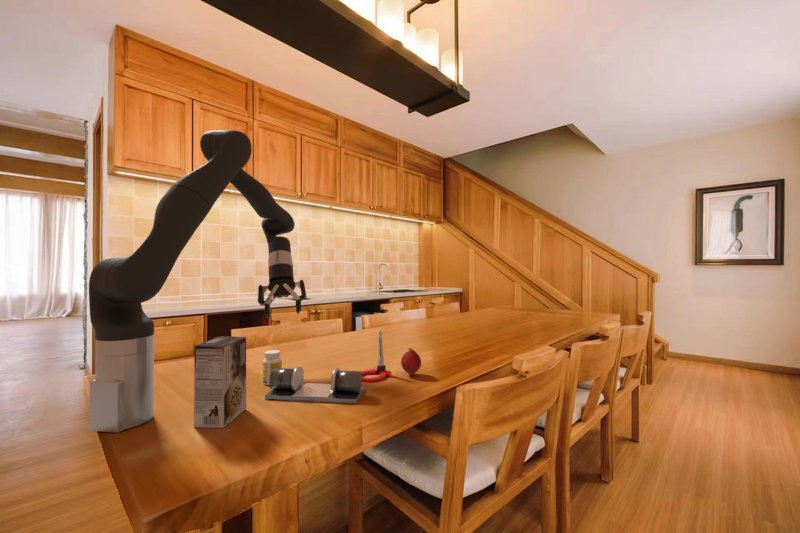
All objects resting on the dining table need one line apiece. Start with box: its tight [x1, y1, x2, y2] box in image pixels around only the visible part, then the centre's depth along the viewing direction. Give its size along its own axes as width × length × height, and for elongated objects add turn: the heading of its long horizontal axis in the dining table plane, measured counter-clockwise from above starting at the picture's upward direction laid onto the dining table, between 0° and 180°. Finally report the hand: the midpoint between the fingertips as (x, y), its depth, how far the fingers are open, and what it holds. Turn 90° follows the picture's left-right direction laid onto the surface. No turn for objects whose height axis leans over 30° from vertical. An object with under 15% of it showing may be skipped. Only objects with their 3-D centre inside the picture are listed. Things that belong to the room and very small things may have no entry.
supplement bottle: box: [262, 349, 283, 386], centre depth 93 cm, size 5×5×8 cm
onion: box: [400, 347, 422, 376], centre depth 99 cm, size 6×6×8 cm
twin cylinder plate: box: [264, 366, 365, 405], centre depth 84 cm, size 22×9×6 cm, turn 84°
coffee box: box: [193, 335, 247, 429], centre depth 71 cm, size 9×6×16 cm
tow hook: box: [362, 330, 392, 383], centre depth 98 cm, size 8×13×9 cm
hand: (283, 314), depth 105 cm, fingers open, 8 cm apart
